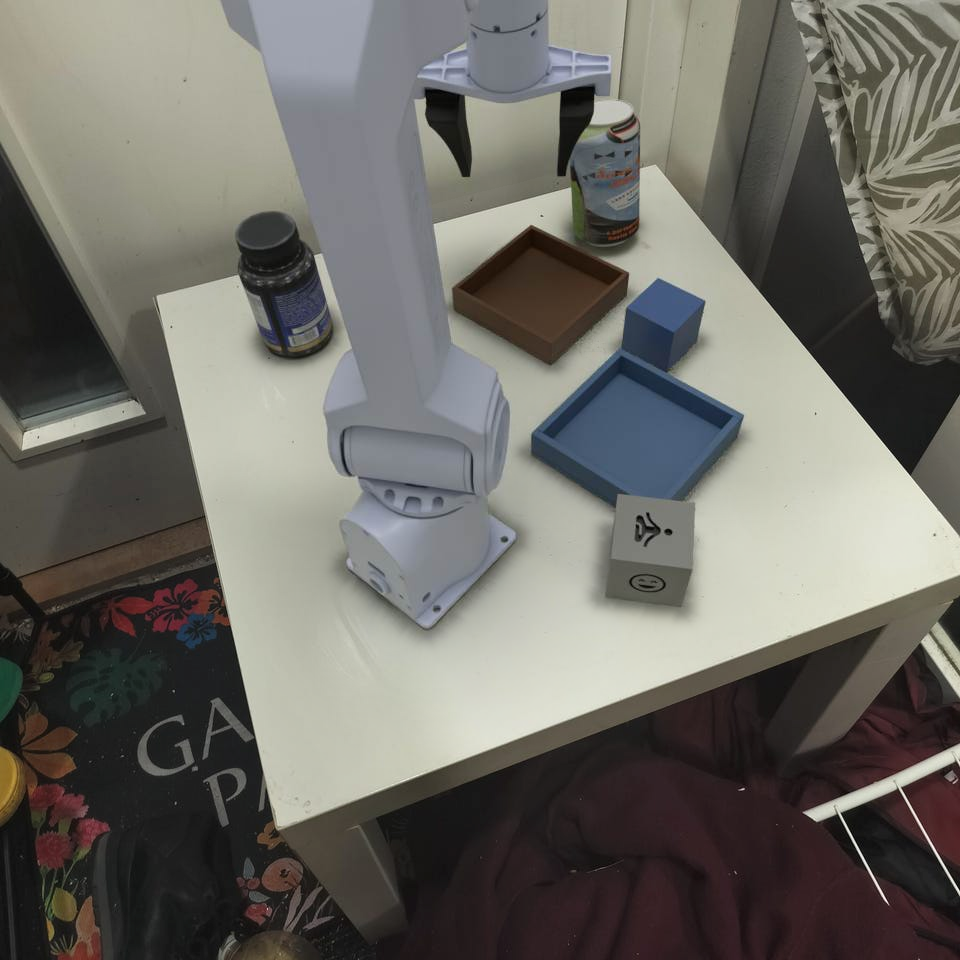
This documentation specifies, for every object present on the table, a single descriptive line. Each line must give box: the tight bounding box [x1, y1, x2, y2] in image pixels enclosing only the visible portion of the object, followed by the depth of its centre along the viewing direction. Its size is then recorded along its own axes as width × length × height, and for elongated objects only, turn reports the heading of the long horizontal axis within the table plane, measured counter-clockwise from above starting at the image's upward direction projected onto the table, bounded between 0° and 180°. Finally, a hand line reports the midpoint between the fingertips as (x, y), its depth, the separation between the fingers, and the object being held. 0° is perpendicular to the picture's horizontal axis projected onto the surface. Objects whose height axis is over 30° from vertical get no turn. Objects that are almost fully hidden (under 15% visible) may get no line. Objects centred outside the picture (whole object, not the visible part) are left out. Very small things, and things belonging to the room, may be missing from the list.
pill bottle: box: [234, 210, 334, 357], centre depth 68 cm, size 6×6×11 cm
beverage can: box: [569, 98, 641, 248], centre depth 74 cm, size 6×7×12 cm
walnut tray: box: [451, 224, 630, 366], centre depth 73 cm, size 11×11×2 cm
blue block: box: [620, 277, 707, 373], centre depth 68 cm, size 4×4×4 cm
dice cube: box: [604, 494, 696, 608], centre depth 56 cm, size 5×5×5 cm
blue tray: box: [530, 347, 745, 508], centre depth 63 cm, size 11×11×2 cm
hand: (514, 168), depth 68 cm, fingers open, 7 cm apart
